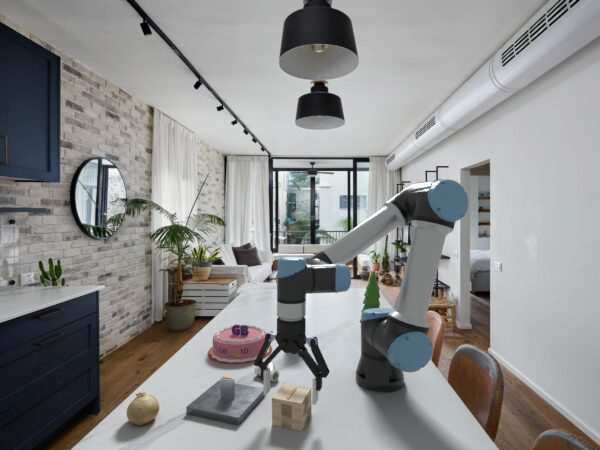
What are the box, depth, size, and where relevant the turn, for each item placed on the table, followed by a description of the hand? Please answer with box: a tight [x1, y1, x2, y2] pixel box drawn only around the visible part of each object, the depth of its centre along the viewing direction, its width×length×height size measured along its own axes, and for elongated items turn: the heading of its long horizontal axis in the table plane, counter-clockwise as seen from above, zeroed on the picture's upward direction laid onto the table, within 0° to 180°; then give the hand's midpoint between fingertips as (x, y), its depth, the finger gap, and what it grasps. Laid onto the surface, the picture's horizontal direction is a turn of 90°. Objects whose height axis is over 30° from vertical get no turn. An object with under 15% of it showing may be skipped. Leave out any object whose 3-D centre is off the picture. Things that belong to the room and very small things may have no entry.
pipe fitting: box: [254, 362, 280, 383], centre depth 118 cm, size 8×4×7 cm
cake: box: [207, 324, 273, 365], centre depth 140 cm, size 25×25×11 cm
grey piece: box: [185, 375, 266, 426], centre depth 101 cm, size 16×16×8 cm
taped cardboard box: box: [271, 383, 312, 432], centre depth 93 cm, size 8×8×7 cm
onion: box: [126, 391, 160, 427], centre depth 93 cm, size 8×8×7 cm
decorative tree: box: [359, 269, 381, 324], centre depth 150 cm, size 10×9×30 cm
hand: (290, 397), depth 93 cm, fingers open, 13 cm apart
